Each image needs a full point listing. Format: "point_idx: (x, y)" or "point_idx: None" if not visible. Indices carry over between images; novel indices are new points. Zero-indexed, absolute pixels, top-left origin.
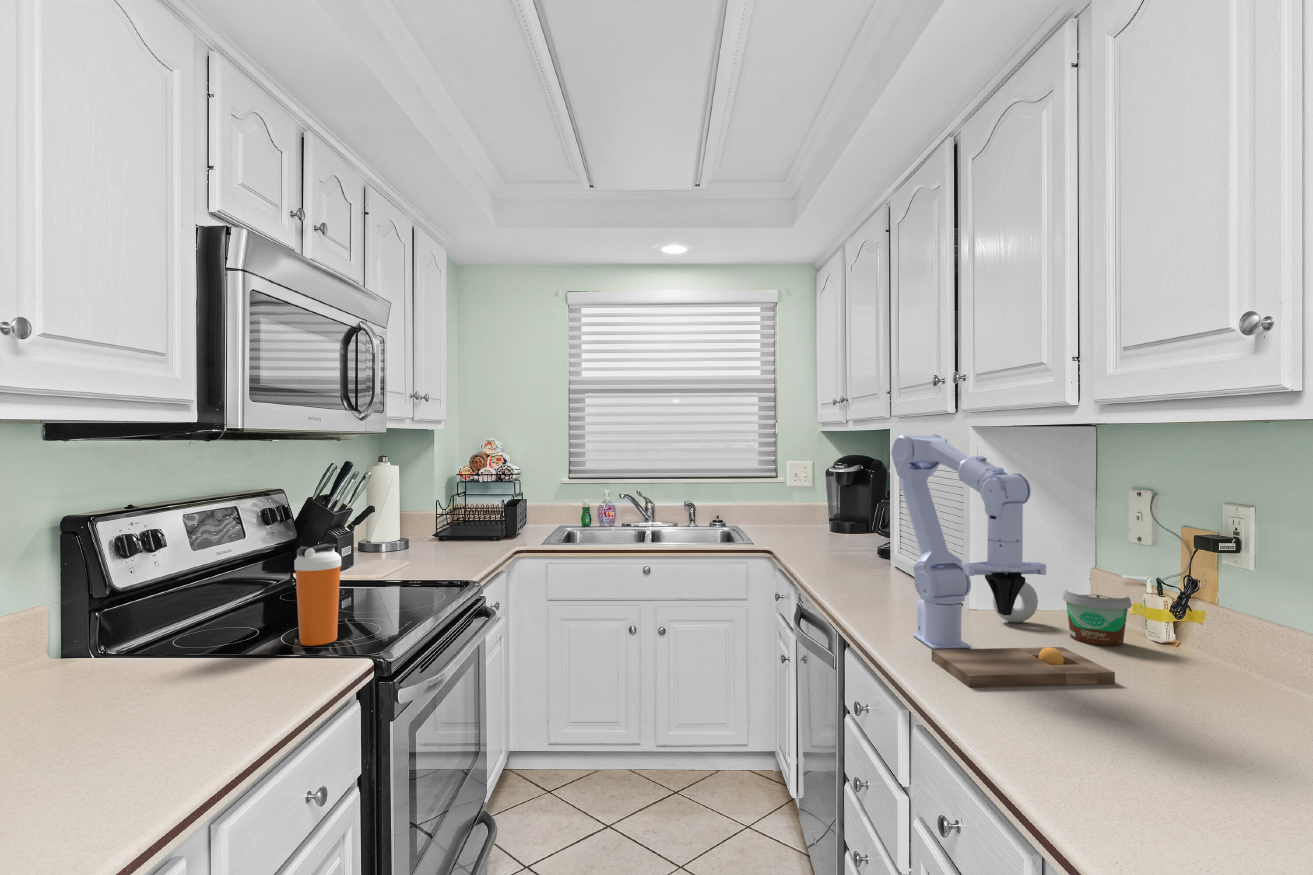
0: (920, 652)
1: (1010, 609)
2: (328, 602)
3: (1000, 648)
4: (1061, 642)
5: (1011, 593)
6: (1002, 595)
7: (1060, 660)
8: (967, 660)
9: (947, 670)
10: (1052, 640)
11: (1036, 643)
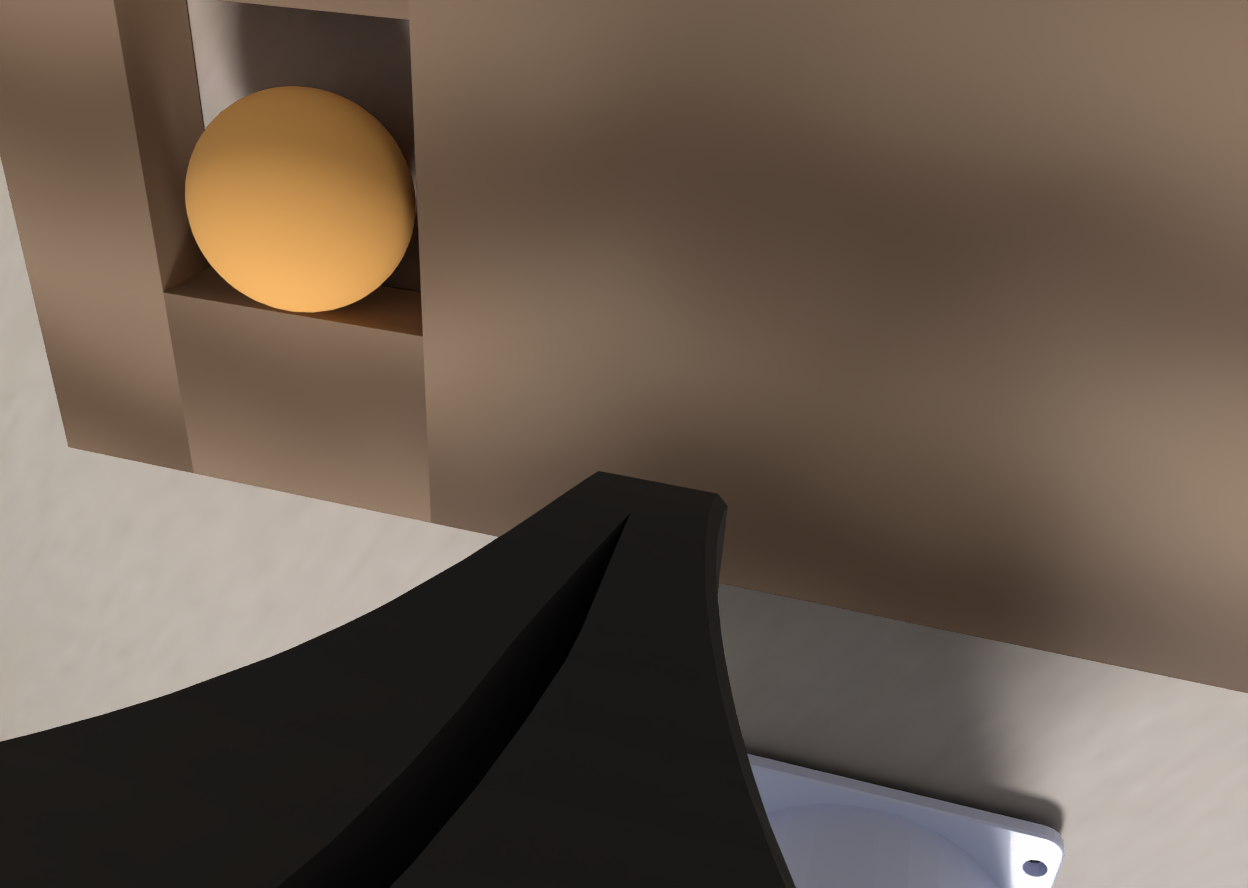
0: (1237, 812)
1: (589, 507)
2: None
3: None
4: (7, 645)
5: (458, 703)
6: (733, 736)
7: (256, 96)
8: (1238, 342)
9: None
10: (46, 689)
11: (172, 679)
